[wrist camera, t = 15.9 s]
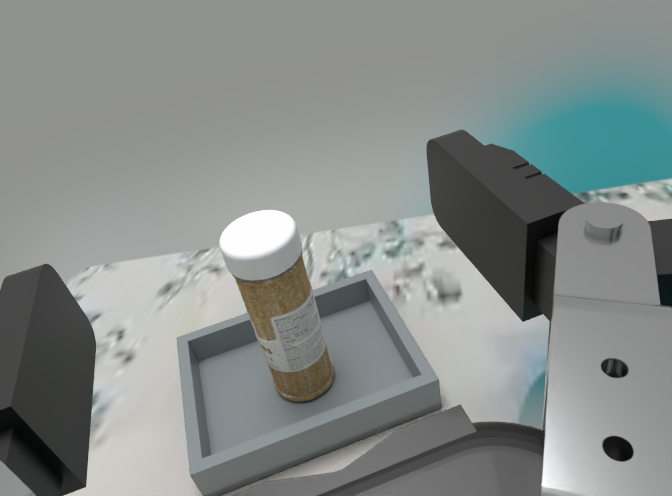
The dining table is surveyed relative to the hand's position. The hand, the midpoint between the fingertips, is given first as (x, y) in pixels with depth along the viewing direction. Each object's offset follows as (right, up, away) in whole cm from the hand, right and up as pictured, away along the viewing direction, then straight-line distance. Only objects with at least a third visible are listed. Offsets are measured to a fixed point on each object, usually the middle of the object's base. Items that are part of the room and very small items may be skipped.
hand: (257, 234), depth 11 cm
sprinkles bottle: (-1, -10, +28) cm, 29 cm away
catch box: (-1, -10, +28) cm, 30 cm away
